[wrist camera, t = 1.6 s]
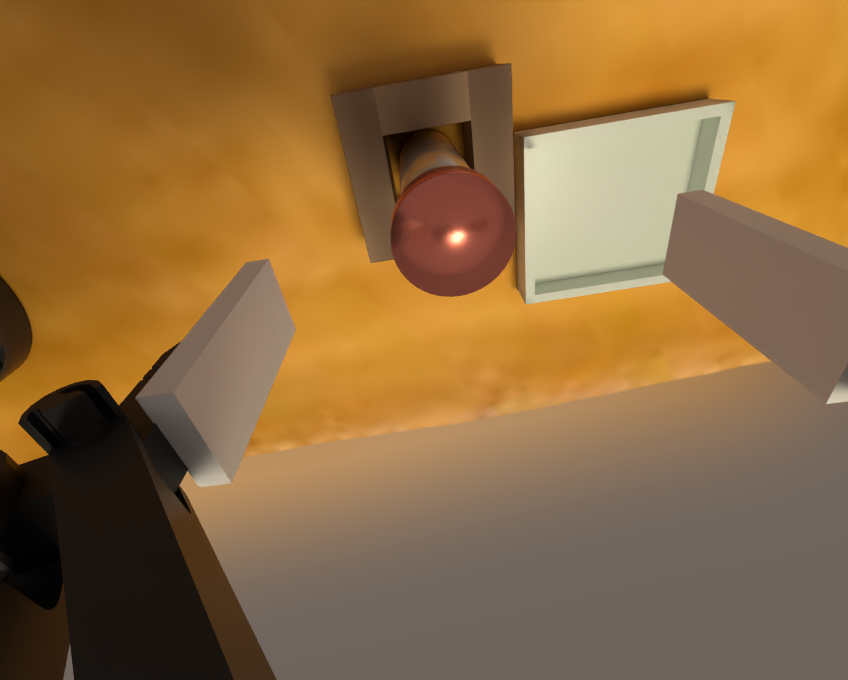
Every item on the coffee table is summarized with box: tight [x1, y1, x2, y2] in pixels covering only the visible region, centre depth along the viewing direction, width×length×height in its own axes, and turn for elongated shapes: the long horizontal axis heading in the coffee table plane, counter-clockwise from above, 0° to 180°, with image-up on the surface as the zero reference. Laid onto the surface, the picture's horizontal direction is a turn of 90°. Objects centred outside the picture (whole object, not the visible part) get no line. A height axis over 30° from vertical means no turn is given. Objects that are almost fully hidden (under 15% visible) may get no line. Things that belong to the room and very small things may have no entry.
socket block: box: [331, 63, 515, 263], centre depth 27 cm, size 10×10×4 cm
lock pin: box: [391, 131, 516, 297], centre depth 22 cm, size 5×5×16 cm
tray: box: [514, 99, 736, 304], centre depth 30 cm, size 13×12×3 cm
